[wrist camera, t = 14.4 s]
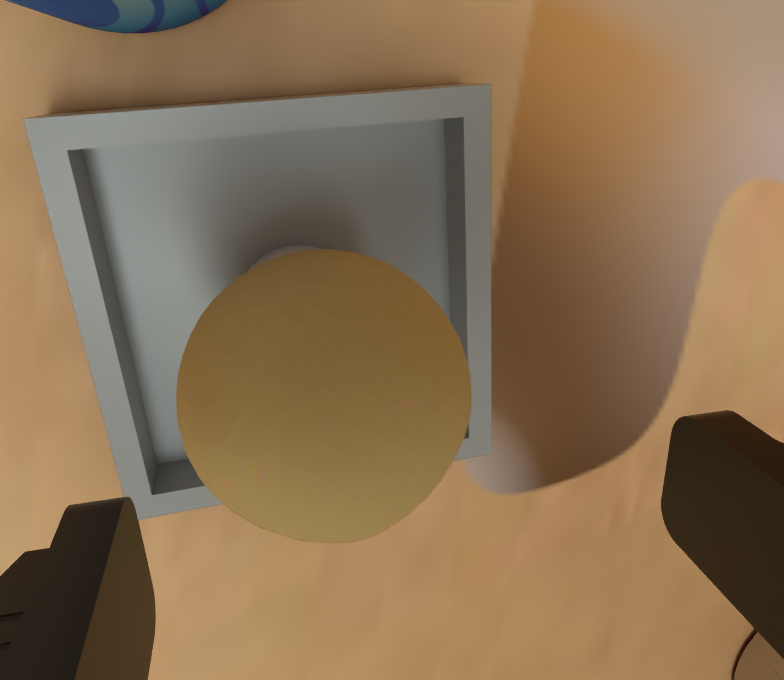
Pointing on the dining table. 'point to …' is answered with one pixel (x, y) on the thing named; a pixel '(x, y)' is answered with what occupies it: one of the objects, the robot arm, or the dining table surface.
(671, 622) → the dining table surface
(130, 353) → the tray
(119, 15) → the beer can
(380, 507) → the light bulb
